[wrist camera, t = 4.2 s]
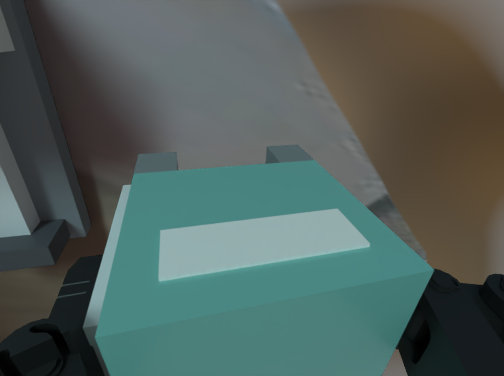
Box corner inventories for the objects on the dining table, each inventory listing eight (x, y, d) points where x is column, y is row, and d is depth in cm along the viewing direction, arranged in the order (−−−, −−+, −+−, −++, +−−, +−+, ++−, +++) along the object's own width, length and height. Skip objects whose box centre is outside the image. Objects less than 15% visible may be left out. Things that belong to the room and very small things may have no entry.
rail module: (286, 229, 15) (377, 384, 9) (154, 247, 14) (141, 455, 7) (297, 142, 13) (435, 266, 6) (137, 151, 11) (93, 333, 5)
